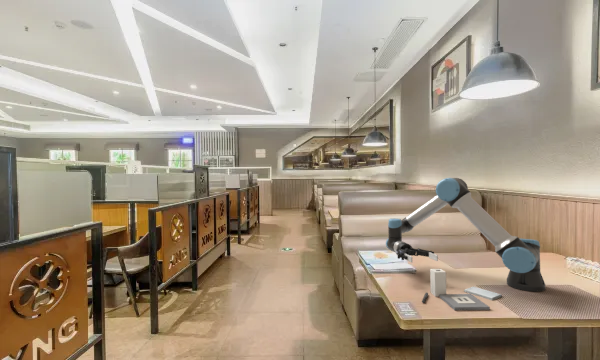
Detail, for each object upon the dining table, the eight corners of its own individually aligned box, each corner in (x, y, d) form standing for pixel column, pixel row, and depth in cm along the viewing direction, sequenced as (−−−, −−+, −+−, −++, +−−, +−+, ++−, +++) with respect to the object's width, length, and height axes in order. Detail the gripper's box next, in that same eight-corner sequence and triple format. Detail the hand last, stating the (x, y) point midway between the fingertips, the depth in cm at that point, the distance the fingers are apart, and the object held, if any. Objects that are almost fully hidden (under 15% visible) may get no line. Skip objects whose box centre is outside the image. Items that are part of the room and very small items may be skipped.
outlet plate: (470, 296, 134) (470, 293, 134) (489, 309, 120) (489, 305, 120) (439, 296, 135) (439, 293, 135) (454, 310, 121) (454, 306, 121)
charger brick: (441, 292, 140) (440, 268, 140) (446, 296, 135) (445, 271, 135) (430, 292, 140) (430, 268, 140) (435, 296, 135) (434, 271, 135)
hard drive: (501, 294, 134) (473, 285, 144) (492, 298, 130) (464, 289, 140) (501, 297, 134) (473, 289, 144) (492, 301, 130) (464, 292, 140)
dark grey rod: (425, 294, 137) (425, 292, 137) (428, 295, 137) (428, 292, 137) (421, 303, 128) (421, 300, 128) (424, 303, 128) (424, 300, 128)
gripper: (423, 254, 170) (447, 265, 149) (382, 256, 167) (400, 268, 146) (423, 241, 170) (447, 250, 149) (382, 243, 167) (400, 252, 146)
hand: (424, 259), depth 147 cm, fingers open, 13 cm apart
